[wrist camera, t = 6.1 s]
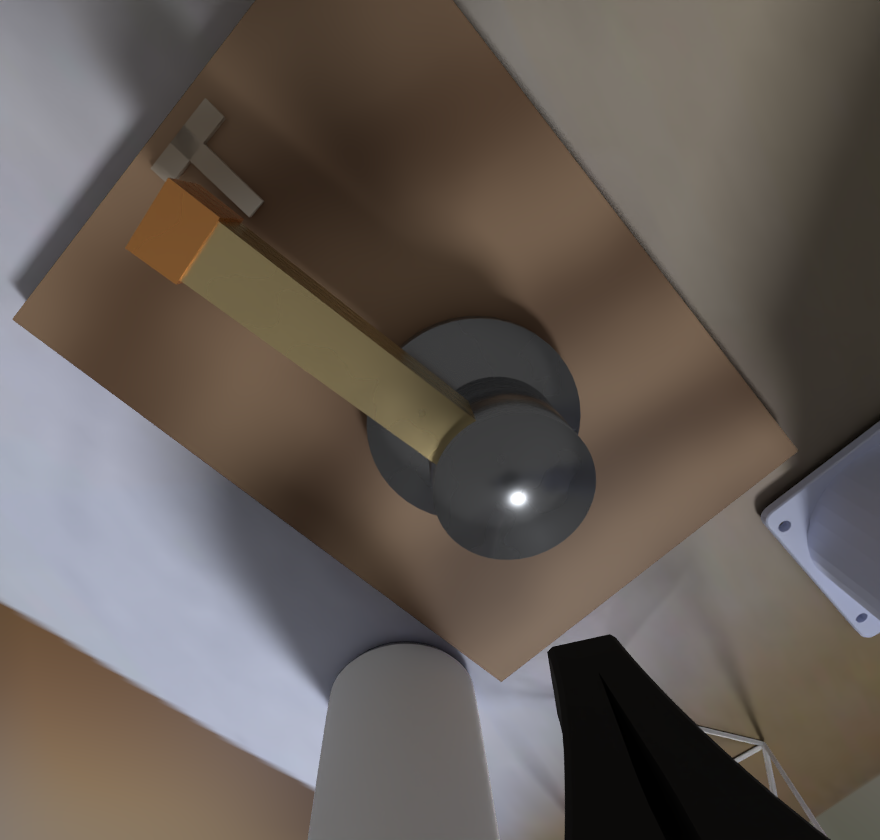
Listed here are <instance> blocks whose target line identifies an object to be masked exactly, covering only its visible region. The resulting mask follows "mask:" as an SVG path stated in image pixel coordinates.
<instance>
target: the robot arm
mask: <svg viewBox="0 0 880 840" xmlns="http://www.w3.org/2000/svg"><path fill="white" fill-rule="evenodd" d="M761 520H762V522H763V523H764V525H765V526H766V527H767V528H768V529H769V530H770V532H771V533H772V534H773V535H774V536H775V537H776V539H777V540H778V541H779V542H780V543H781V544H782V546H783V547H784V548H785V549H786V550H787V551H788V553H789V554H790V555H791V556H792V557H793V558H794V559H795V561H796V562H797V563H798V564H799V565H800V566H801V568H802V569H803V570H804V571H805V572H806V573H807V575H808V576H809V577H810V578H811V579H812V580H813V582H814V583H815V584H816V585H817V586H818V587H819V589H820V590H821V591H822V592H823V593H824V594H825V596H826V597H827V598H828V599H829V600H830V601H831V603H832V604H833V605H834V606H835V607H836V608H837V609H838V611H839V612H840V613H841V614H842V615H843V616H844V618H845V619H846V620H847V621H848V622H849V623H850V625H851V626H852V627H853V628H854V629H855V630H856V631H857V632H858V633H859V634H860V635H861V636H863V637H873V636H875V635H876V634H878V633H879V632H880V421H879V422H877V423H876V424H875V425H873V426H872V427H871V428H870V429H868V430H867V431H866V432H864V433H863V434H862V435H860V436H859V437H858V438H856V439H855V440H854V441H853V442H851V443H850V444H849V445H847V446H846V447H845V448H843V449H842V450H841V451H839V452H838V453H837V454H835V455H834V456H833V457H832V458H830V459H829V460H828V461H826V462H825V463H824V464H822V465H821V466H820V467H818V468H817V469H816V470H815V471H813V472H812V473H811V474H809V475H808V476H807V477H805V478H804V479H803V480H801V481H800V482H799V483H797V484H796V485H795V486H794V487H792V488H791V489H790V490H788V491H787V492H786V493H784V494H783V495H782V496H780V497H779V498H778V499H776V500H775V501H774V502H773V503H771V504H770V505H769V506H767V507H766V508H765V509H764V510H763V512H762V514H761ZM783 521H784V522H783ZM781 522H783V523H782V524H781ZM780 524H781V525H780ZM779 525H780V526H779ZM547 653H548V659H549V665H550V671H551V678H552V684H553V690H554V696H555V702H556V708H557V714H558V718H559V721H560V725H561V729H562V733H563V746H564V770H565V840H830V839H829V838H828V837H826V836H825V835H824V834H823V833H821V832H820V831H819V830H817V829H816V828H815V827H813V826H812V825H811V824H810V823H808V822H807V821H806V820H805V819H804V818H802V817H801V816H800V815H799V814H797V813H796V812H795V811H794V810H792V809H791V808H790V807H789V806H788V805H786V804H785V803H784V802H783V801H781V800H780V799H779V798H778V797H777V796H775V795H774V794H773V793H772V792H771V791H769V790H768V789H767V788H766V787H765V786H764V785H762V784H761V783H760V782H759V781H758V780H757V779H755V778H754V777H753V776H752V775H751V774H750V773H749V772H747V771H746V770H745V769H744V768H743V767H742V766H741V765H740V764H739V763H737V762H736V761H735V760H734V759H733V758H732V757H731V756H730V755H728V754H727V753H726V752H725V751H724V750H723V749H722V748H721V747H720V746H719V745H718V744H716V743H715V742H714V741H713V740H712V739H711V738H710V737H709V736H708V735H707V734H706V733H705V732H704V731H703V730H702V729H701V728H700V727H699V726H698V725H697V724H696V723H695V722H694V721H692V720H691V719H690V718H689V717H688V716H687V715H686V714H685V713H684V712H683V711H682V710H681V709H680V708H679V707H678V706H677V705H676V704H675V703H674V702H673V701H672V700H671V699H670V698H669V697H668V696H667V695H666V694H665V693H664V692H663V690H662V689H661V688H660V687H659V686H658V685H657V684H656V683H655V682H654V681H653V680H652V679H651V678H650V677H649V676H648V674H647V673H646V672H645V671H644V670H643V669H642V668H641V667H640V666H639V665H638V663H637V662H636V661H635V660H634V659H633V658H632V657H631V655H630V654H629V653H628V652H627V651H626V650H625V648H624V647H623V646H622V645H621V644H620V642H619V641H618V640H617V639H616V638H615V637H614V636H612V635H610V634H609V635H605V636H600V637H596V638H591V639H586V640H582V641H577V642H573V643H568V644H563V645H559V646H554V647H552V648H551V649H550V650H549V651H548V652H547Z"/></svg>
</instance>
